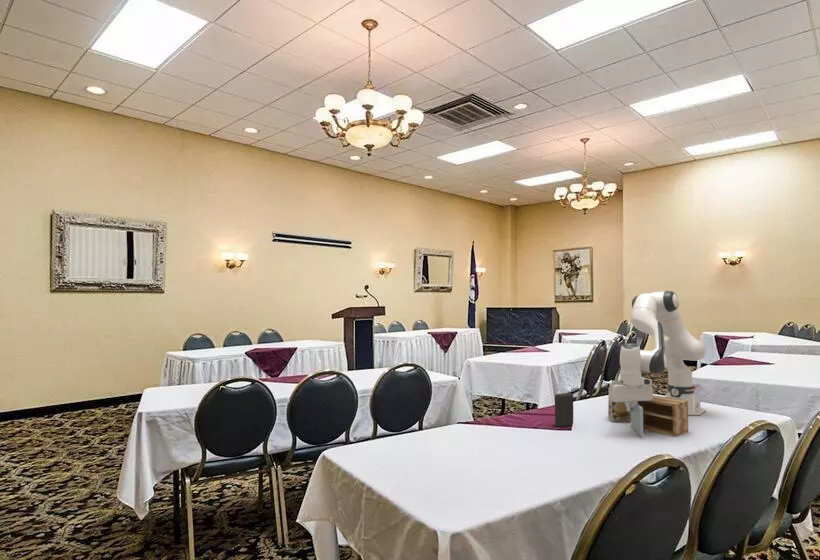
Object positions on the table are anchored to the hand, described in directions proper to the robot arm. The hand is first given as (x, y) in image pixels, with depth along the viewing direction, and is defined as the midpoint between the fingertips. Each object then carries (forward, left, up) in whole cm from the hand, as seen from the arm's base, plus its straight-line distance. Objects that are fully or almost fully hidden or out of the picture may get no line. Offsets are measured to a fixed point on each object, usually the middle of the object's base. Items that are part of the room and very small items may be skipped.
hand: (630, 411), depth 219 cm
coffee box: (-16, -15, -10) cm, 25 cm away
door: (-4, 0, -9) cm, 10 cm away
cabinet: (-17, +4, -10) cm, 21 cm away
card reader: (+13, -26, -10) cm, 31 cm away
